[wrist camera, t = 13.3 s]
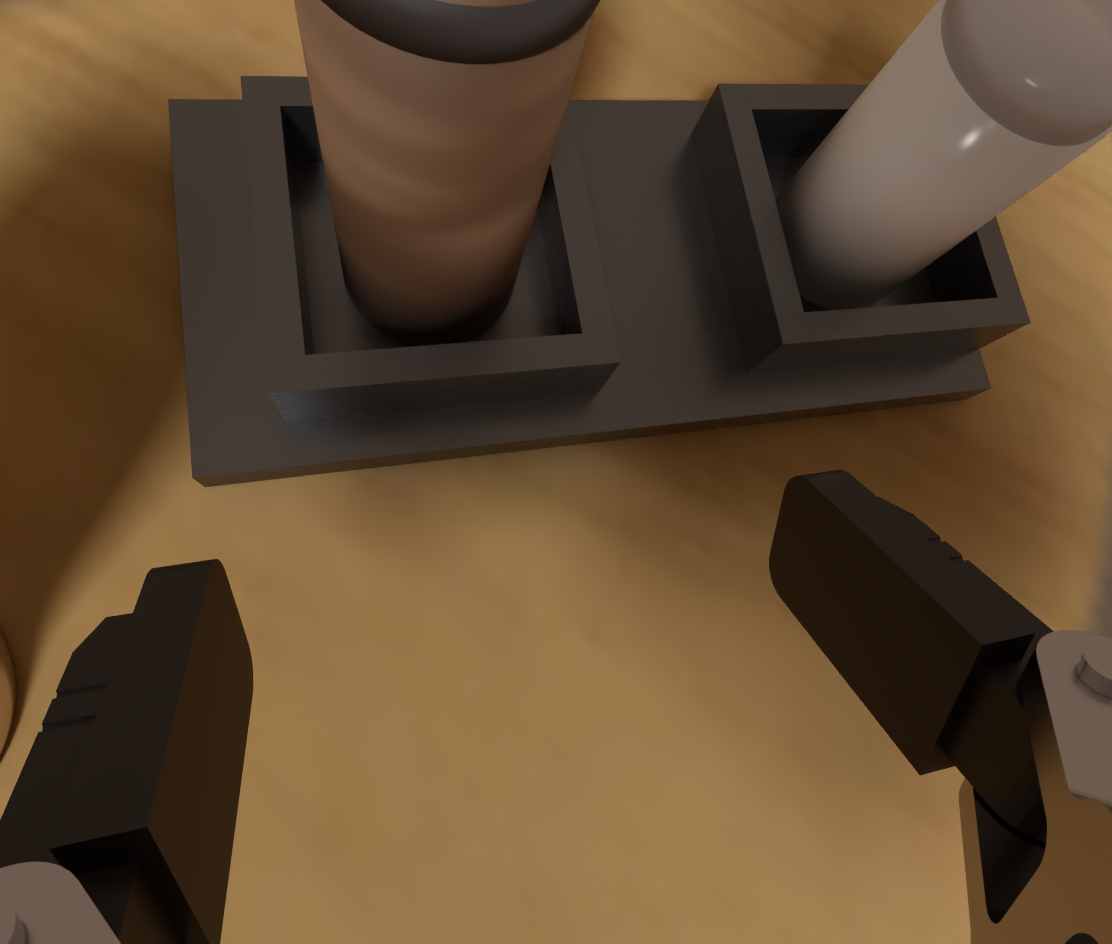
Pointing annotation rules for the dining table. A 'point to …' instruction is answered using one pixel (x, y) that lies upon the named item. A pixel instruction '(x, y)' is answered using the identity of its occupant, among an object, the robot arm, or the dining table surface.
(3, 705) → the beer glass
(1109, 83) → the salt shaker
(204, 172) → the condiment caddy
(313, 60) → the brown wooden cylinder
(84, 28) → the dining table surface
